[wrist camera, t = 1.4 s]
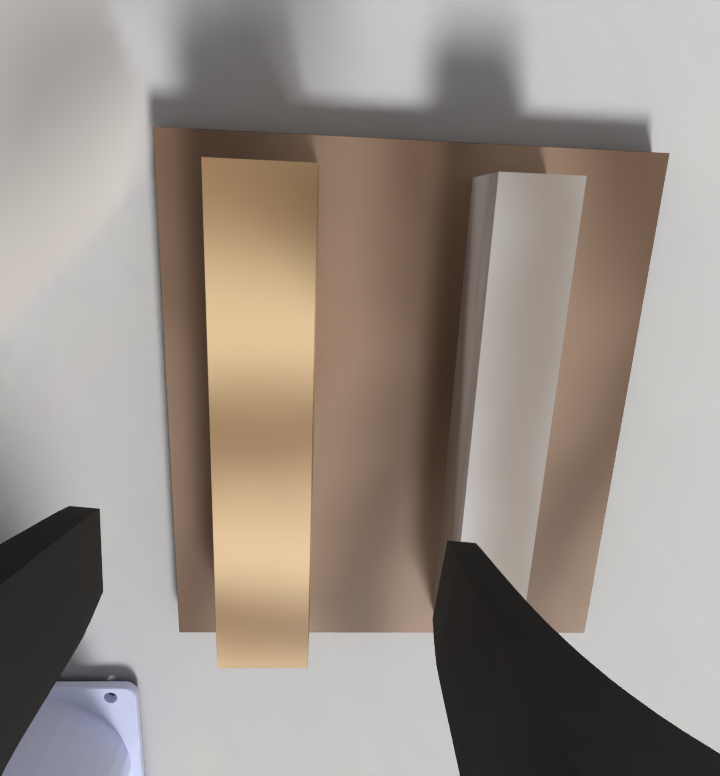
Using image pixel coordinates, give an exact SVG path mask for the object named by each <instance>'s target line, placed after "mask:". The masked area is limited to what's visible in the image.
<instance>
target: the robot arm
mask: <svg viewBox="0 0 720 776" xmlns="http://www.w3.org/2000/svg"><path fill="white" fill-rule="evenodd" d="M102 593H103V578H102V555H101V532H100V509H96V508H85V507H74V506H69V507H67V508H64V509H62V510H60V511H58V512H57V513H55V514H53V515H51V516H49V517H47V518H46V519H44V520H42V521H40V522H39V523H37V524H35V525H33V526H32V527H30V528H28V529H26V530H25V531H23V532H21V533H19V534H18V535H16V536H14V537H12V538H10V539H9V540H7V541H5V542H3V543H2V544H0V776H145V771H144V758H143V745H142V732H141V720H140V707H139V694H138V689H137V687H136V686H135V685H134V684H133V683H131V682H127V681H67V682H56V681H57V680H58V678H59V677H60V675H61V673H62V672H63V670H64V668H65V667H66V665H67V663H68V662H69V660H70V658H71V656H72V655H73V653H74V651H75V650H76V648H77V646H78V645H79V643H80V641H81V640H82V638H83V636H84V634H85V632H86V629H87V627H88V625H89V623H90V621H91V618H92V616H93V614H94V612H95V609H96V607H97V604H98V602H99V600H100V597H101V595H102ZM432 620H433V633H434V645H435V655H436V665H437V670H438V675H439V680H440V685H441V689H442V694H443V699H444V704H445V708H446V713H447V717H448V722H449V727H450V731H451V736H452V740H453V745H454V750H455V754H456V759H457V763H458V768H459V773H460V776H720V754H719V753H718V752H716V751H714V750H713V749H711V748H710V747H708V746H706V745H705V744H703V743H702V742H700V741H698V740H697V739H695V738H693V737H692V736H690V735H689V734H687V733H685V732H684V731H682V730H681V729H679V728H678V727H676V726H675V725H673V724H672V723H670V722H669V721H667V720H666V719H664V718H663V717H661V716H660V715H658V714H657V713H655V712H654V711H653V710H651V709H650V708H648V707H647V706H646V705H644V704H643V703H641V702H640V701H639V700H637V699H636V698H635V697H633V696H632V695H630V694H629V693H628V692H626V691H625V690H624V689H622V688H621V687H620V686H618V685H617V684H616V683H615V682H613V681H612V680H611V679H609V678H608V677H607V676H606V675H605V674H603V673H602V672H601V671H600V670H599V669H597V668H596V667H595V666H594V665H593V664H591V663H590V662H589V661H588V660H587V659H586V658H584V657H583V656H582V655H581V654H580V653H579V652H577V651H576V650H575V649H574V648H573V647H572V646H571V645H570V644H569V643H568V642H567V641H565V640H564V639H563V638H562V637H561V636H560V635H559V634H558V633H557V632H556V631H555V630H554V629H553V628H552V627H551V626H550V625H549V624H548V623H547V622H546V621H545V620H544V619H543V618H542V617H541V616H540V615H539V614H538V613H537V612H536V611H535V610H534V609H533V607H532V606H531V605H530V604H529V603H528V602H527V601H526V600H525V599H524V598H523V597H522V596H521V594H520V593H519V592H518V591H517V590H516V589H515V588H514V587H513V585H512V584H511V583H510V582H509V581H508V580H507V579H506V577H505V576H504V575H503V574H502V573H501V572H500V570H499V569H498V568H497V567H496V566H495V564H494V563H493V562H492V561H491V560H490V559H489V557H488V556H487V555H486V554H485V553H484V551H483V550H482V549H481V548H480V547H479V546H478V545H477V544H476V543H470V542H459V541H448V540H447V545H446V550H445V555H444V561H443V566H442V571H441V576H440V582H439V587H438V592H437V598H436V603H435V608H434V613H433V619H432ZM109 693H114V694H115V696H114V695H110V694H109Z"/></svg>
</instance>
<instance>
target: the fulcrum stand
mask: <svg viewBox="0 0 720 776" xmlns="http://www.w3.org/2000/svg"><path fill="white" fill-rule="evenodd" d="M153 137H154V157H155V176H156V195H157V214H158V233H159V252H160V271H161V290H162V309H163V328H164V347H165V366H166V385H167V404H168V423H169V442H170V462H171V481H172V500H173V519H174V538H175V557H176V576H177V595H178V614H179V632H216V608H215V576H214V544H213V513H212V481H211V449H210V417H209V386H208V354H207V322H206V290H205V259H204V227H203V195H202V163H201V157H211V158H231V159H252V160H272V161H293V162H313V163H318V166H319V170H320V171H319V218H318V264H317V310H316V356H315V403H314V449H313V495H312V541H311V588H310V622H309V632H433V620H432V619H433V613H434V608H435V603H436V598H437V592H438V587H439V582H440V576H441V571H442V566H443V561H444V555H445V550H446V545H447V540H448V541H459V542H470V543H476V544H477V545H478V546H479V547H480V548H481V549H482V550H483V551H484V553H485V554H486V555H487V556H488V557H489V559H490V560H491V561H492V562H493V563H494V564H495V566H496V567H497V568H498V569H499V570H500V572H501V573H502V574H503V575H504V576H505V577H506V579H507V580H508V581H509V582H510V583H511V584H512V585H513V587H514V588H515V589H516V590H517V591H518V592H519V593H520V594H521V596H522V597H523V598H524V599H525V600H526V601H527V602H528V603H529V604H530V605H531V606H532V607H533V609H534V610H535V611H536V612H537V613H538V614H539V615H540V616H541V617H542V618H543V619H544V620H545V621H546V622H547V623H548V624H549V625H550V626H551V627H552V628H553V629H554V630H555V631H556V632H557V633H584V630H585V625H586V619H587V613H588V608H589V602H590V596H591V591H592V585H593V580H594V574H595V568H596V563H597V557H598V552H599V546H600V540H601V535H602V529H603V523H604V518H605V512H606V507H607V501H608V495H609V490H610V484H611V478H612V473H613V467H614V462H615V456H616V450H617V445H618V439H619V434H620V428H621V422H622V417H623V411H624V405H625V400H626V394H627V389H628V383H629V377H630V372H631V366H632V360H633V355H634V349H635V344H636V338H637V332H638V327H639V321H640V316H641V310H642V304H643V299H644V293H645V287H646V282H647V276H648V271H649V265H650V259H651V254H652V248H653V242H654V237H655V231H656V226H657V220H658V214H659V209H660V203H661V198H662V192H663V186H664V181H665V175H666V169H667V164H668V158H669V153H654V152H635V151H615V150H596V149H577V148H557V147H538V146H519V145H499V144H480V143H461V142H441V141H422V140H403V139H384V138H364V137H345V136H326V135H306V134H287V133H268V132H248V131H229V130H210V129H190V128H171V127H153Z"/></svg>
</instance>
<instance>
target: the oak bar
mask: <svg viewBox="0 0 720 776" xmlns="http://www.w3.org/2000/svg"><path fill="white" fill-rule="evenodd" d="M201 163H202V195H203V227H204V259H205V290H206V322H207V354H208V386H209V417H210V449H211V481H212V513H213V544H214V576H215V608H216V640H217V668H307V665H308V643H309V622H310V588H311V541H312V495H313V449H314V403H315V356H316V310H317V264H318V218H319V171H320V170H319V166H318V163H313V162H293V161H272V160H252V159H231V158H211V157H201Z"/></svg>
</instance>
